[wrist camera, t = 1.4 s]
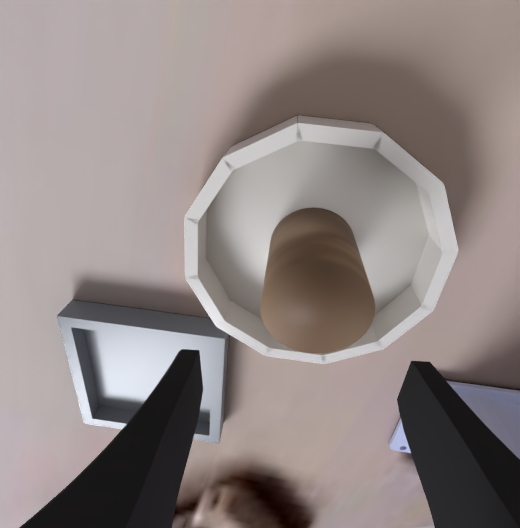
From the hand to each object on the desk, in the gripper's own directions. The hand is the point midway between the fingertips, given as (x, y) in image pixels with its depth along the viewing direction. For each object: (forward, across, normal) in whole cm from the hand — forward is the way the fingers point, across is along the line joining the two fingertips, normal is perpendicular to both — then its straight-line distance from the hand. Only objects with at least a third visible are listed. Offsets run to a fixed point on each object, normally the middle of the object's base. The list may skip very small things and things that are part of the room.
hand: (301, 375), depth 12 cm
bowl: (+10, -1, 0) cm, 10 cm away
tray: (+10, +10, +12) cm, 18 cm away
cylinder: (+9, -1, 0) cm, 9 cm away
